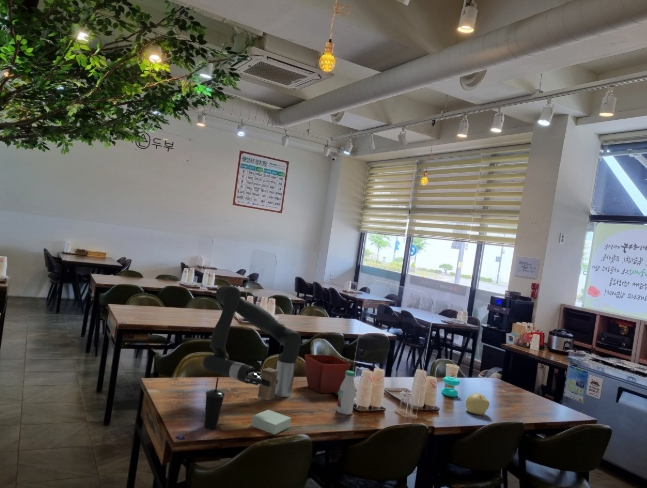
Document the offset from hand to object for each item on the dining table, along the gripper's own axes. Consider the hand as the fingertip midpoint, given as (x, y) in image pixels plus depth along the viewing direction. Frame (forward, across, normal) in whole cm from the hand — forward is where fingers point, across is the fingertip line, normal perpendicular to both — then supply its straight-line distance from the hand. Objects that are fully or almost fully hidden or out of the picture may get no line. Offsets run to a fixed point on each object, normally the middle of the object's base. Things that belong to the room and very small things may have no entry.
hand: (273, 383), depth 216 cm
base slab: (+2, 0, +18) cm, 18 cm away
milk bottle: (+15, +44, +18) cm, 50 cm away
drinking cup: (-13, -21, +18) cm, 31 cm away
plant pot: (-9, +66, +18) cm, 69 cm away
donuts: (+45, +129, +18) cm, 138 cm away
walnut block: (-3, 0, +7) cm, 7 cm away
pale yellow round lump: (+65, +108, +18) cm, 127 cm away
